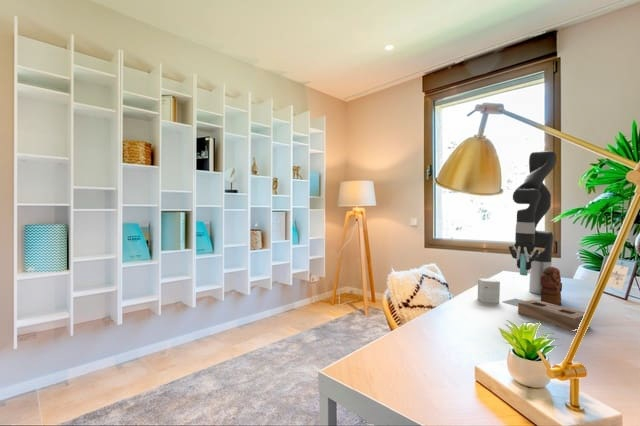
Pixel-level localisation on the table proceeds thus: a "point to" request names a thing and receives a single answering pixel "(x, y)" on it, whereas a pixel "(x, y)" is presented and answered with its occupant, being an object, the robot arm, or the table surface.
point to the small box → (488, 290)
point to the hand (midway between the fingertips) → (523, 268)
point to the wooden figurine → (551, 286)
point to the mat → (513, 302)
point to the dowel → (523, 265)
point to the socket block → (551, 314)
